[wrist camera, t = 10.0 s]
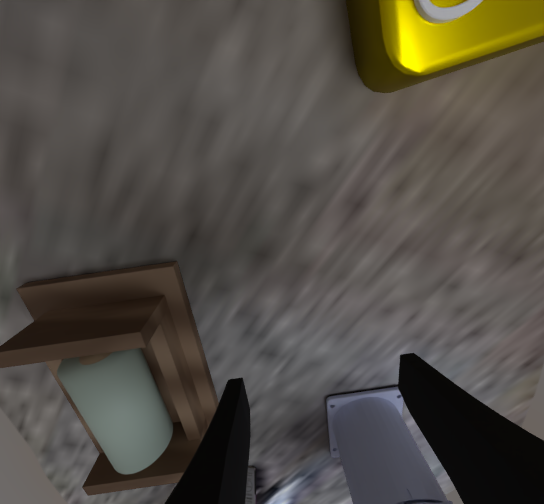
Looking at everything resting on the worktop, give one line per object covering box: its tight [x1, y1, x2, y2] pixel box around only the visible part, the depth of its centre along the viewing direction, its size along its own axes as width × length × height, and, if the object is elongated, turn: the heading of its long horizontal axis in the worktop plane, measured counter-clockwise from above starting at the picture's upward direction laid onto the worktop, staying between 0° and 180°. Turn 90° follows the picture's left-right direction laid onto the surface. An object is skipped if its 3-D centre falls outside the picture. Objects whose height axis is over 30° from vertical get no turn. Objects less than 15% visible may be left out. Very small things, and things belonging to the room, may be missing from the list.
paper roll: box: [57, 348, 173, 474], centre depth 20 cm, size 10×5×5 cm, turn 9°
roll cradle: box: [0, 261, 219, 495], centre depth 21 cm, size 20×12×6 cm, turn 8°
